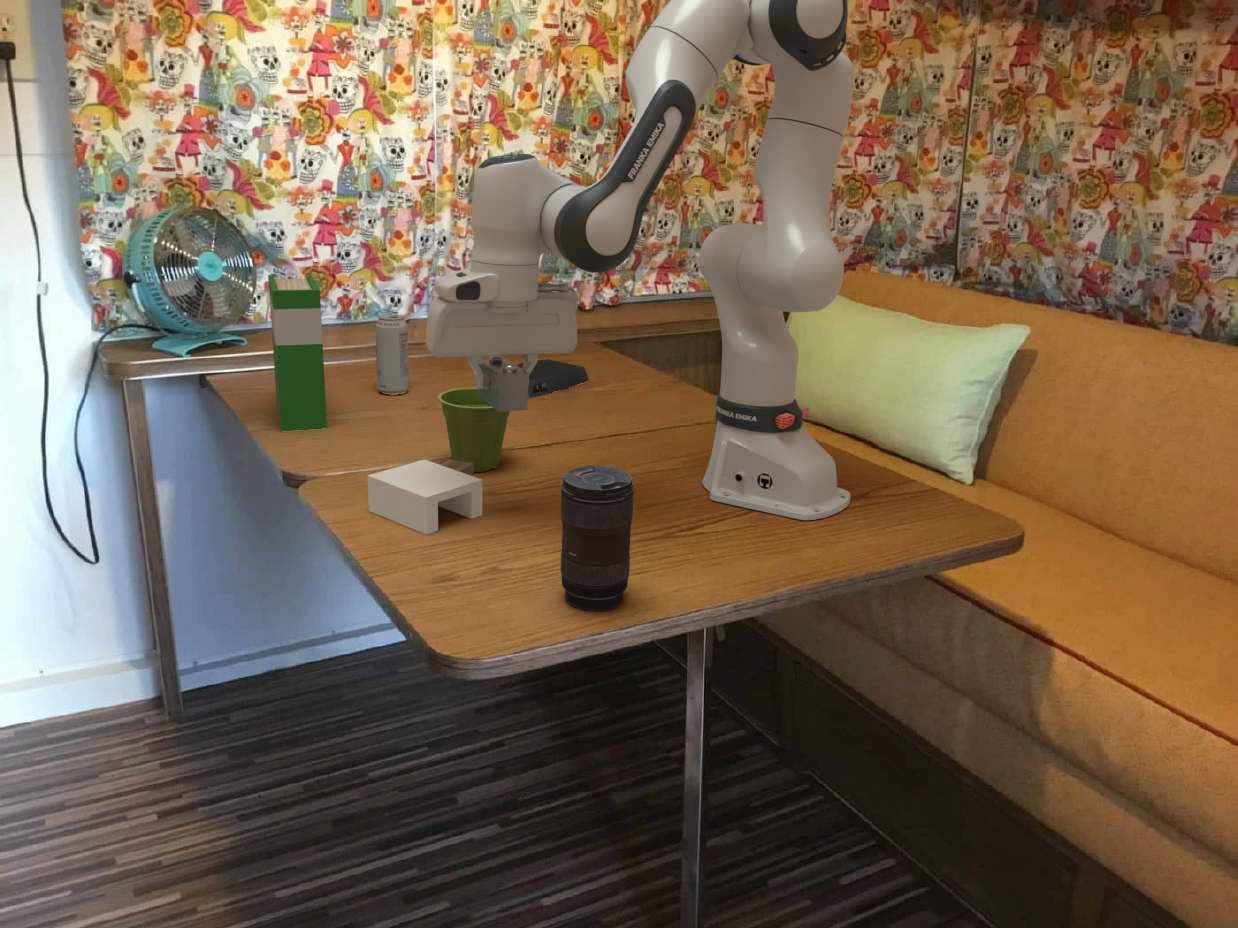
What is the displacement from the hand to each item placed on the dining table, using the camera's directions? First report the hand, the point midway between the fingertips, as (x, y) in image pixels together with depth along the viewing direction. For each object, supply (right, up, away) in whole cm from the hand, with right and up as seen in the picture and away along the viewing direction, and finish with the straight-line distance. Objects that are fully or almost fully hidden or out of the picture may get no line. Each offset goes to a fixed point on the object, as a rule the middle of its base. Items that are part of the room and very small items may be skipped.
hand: (502, 387), depth 137 cm
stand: (-11, -17, +4) cm, 21 cm away
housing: (0, -2, +1) cm, 2 cm away
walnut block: (-8, -14, +13) cm, 21 cm away
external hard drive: (-1, +5, +75) cm, 75 cm away
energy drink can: (-29, +4, +64) cm, 70 cm away
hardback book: (-41, -2, +46) cm, 61 cm away
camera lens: (+13, -26, -19) cm, 35 cm away
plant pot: (-7, -11, +24) cm, 27 cm away
